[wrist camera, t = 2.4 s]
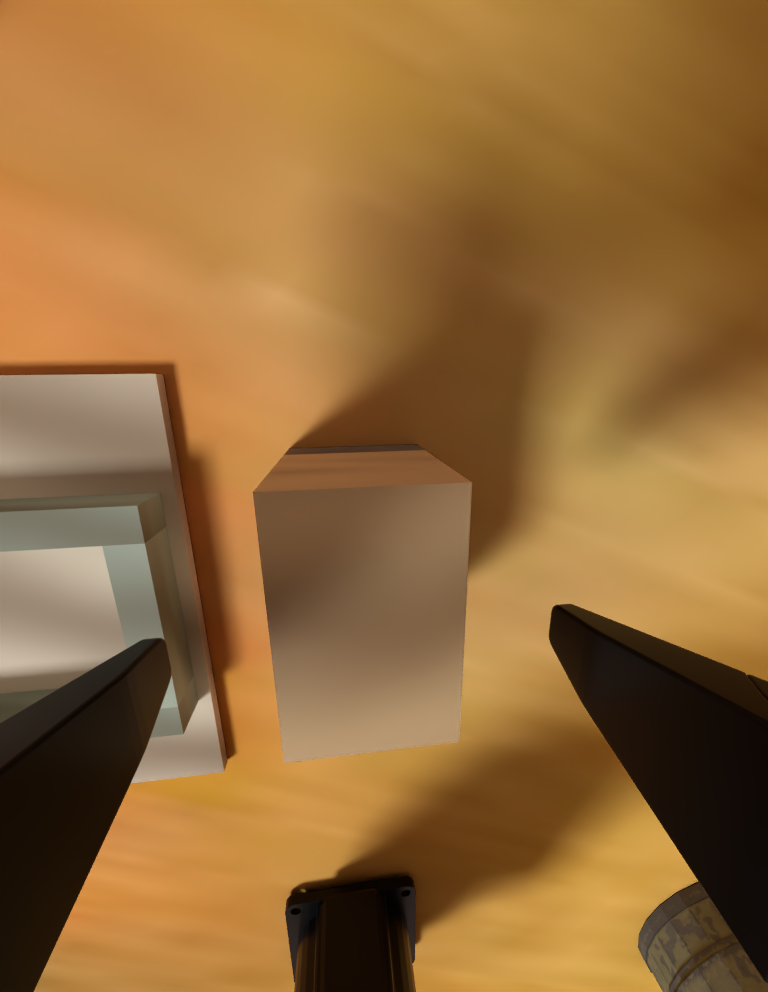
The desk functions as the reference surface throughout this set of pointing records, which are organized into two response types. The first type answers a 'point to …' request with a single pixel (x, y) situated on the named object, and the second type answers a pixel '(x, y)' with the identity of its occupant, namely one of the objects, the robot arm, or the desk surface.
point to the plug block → (365, 597)
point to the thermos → (695, 948)
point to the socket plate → (101, 554)
